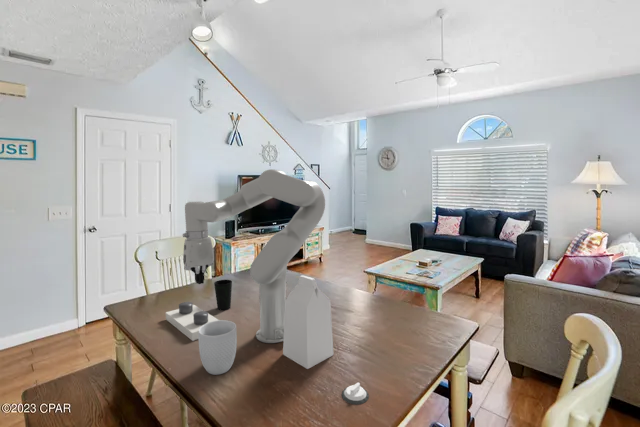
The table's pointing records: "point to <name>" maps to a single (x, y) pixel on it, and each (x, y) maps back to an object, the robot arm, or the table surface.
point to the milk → (307, 324)
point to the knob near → (200, 317)
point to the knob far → (185, 307)
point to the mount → (187, 322)
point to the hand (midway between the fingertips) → (199, 282)
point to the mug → (217, 345)
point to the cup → (223, 294)
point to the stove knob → (355, 394)
